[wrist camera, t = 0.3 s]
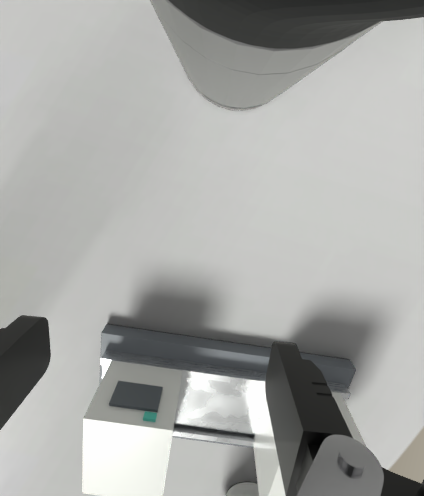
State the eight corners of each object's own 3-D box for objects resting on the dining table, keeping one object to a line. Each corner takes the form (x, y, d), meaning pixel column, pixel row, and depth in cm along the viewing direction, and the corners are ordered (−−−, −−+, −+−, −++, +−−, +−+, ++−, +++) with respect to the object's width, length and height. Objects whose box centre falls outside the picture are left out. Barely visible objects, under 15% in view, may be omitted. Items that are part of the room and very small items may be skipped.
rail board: (102, 415, 35) (97, 427, 34) (106, 324, 31) (101, 333, 29) (315, 444, 36) (319, 456, 35) (349, 359, 32) (355, 369, 30)
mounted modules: (109, 421, 33) (82, 493, 26) (113, 353, 29) (83, 415, 23) (313, 449, 33) (337, 525, 27) (339, 386, 30) (372, 454, 24)
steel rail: (102, 415, 33) (98, 425, 32) (105, 349, 30) (101, 358, 29) (320, 444, 34) (324, 456, 33) (345, 384, 31) (350, 394, 30)
